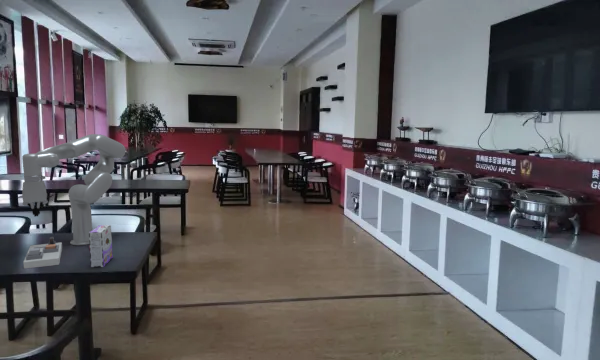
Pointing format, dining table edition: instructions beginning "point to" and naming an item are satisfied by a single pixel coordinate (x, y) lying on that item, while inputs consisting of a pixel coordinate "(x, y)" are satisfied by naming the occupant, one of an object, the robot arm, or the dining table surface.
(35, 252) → the grey button
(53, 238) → the dark slider
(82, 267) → the dining table surface
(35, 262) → the panel
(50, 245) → the terracotta button
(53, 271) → the dining table surface
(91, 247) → the candy box
